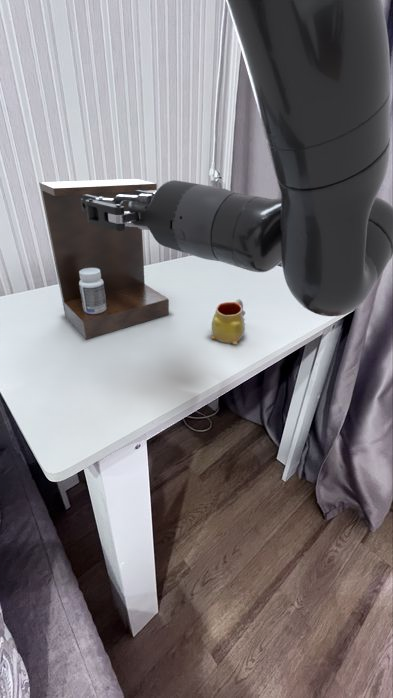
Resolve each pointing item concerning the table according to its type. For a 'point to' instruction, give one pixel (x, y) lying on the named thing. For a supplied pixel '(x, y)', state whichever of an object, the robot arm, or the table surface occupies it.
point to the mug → (229, 322)
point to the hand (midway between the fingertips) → (111, 200)
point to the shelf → (99, 257)
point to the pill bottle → (92, 291)
